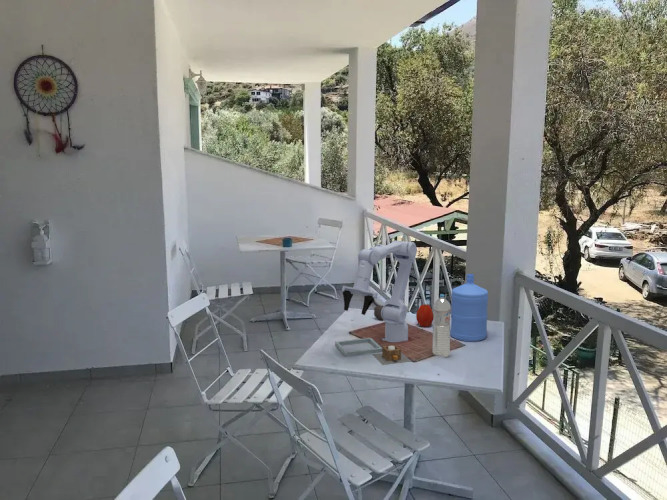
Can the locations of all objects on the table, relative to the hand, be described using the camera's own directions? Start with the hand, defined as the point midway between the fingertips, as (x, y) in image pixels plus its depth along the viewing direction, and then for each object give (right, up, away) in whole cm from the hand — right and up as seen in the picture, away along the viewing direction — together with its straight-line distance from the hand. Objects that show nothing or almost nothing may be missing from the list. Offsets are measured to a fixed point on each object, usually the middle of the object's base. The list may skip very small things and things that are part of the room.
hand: (354, 312), depth 209 cm
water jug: (+52, -14, +29) cm, 61 cm away
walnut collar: (+15, -18, +1) cm, 24 cm away
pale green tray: (+2, -17, +13) cm, 22 cm away
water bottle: (+35, -18, +7) cm, 40 cm away
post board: (+15, -19, +2) cm, 24 cm away
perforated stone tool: (+19, -11, +55) cm, 59 cm away
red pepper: (+35, -12, +46) cm, 59 cm away
